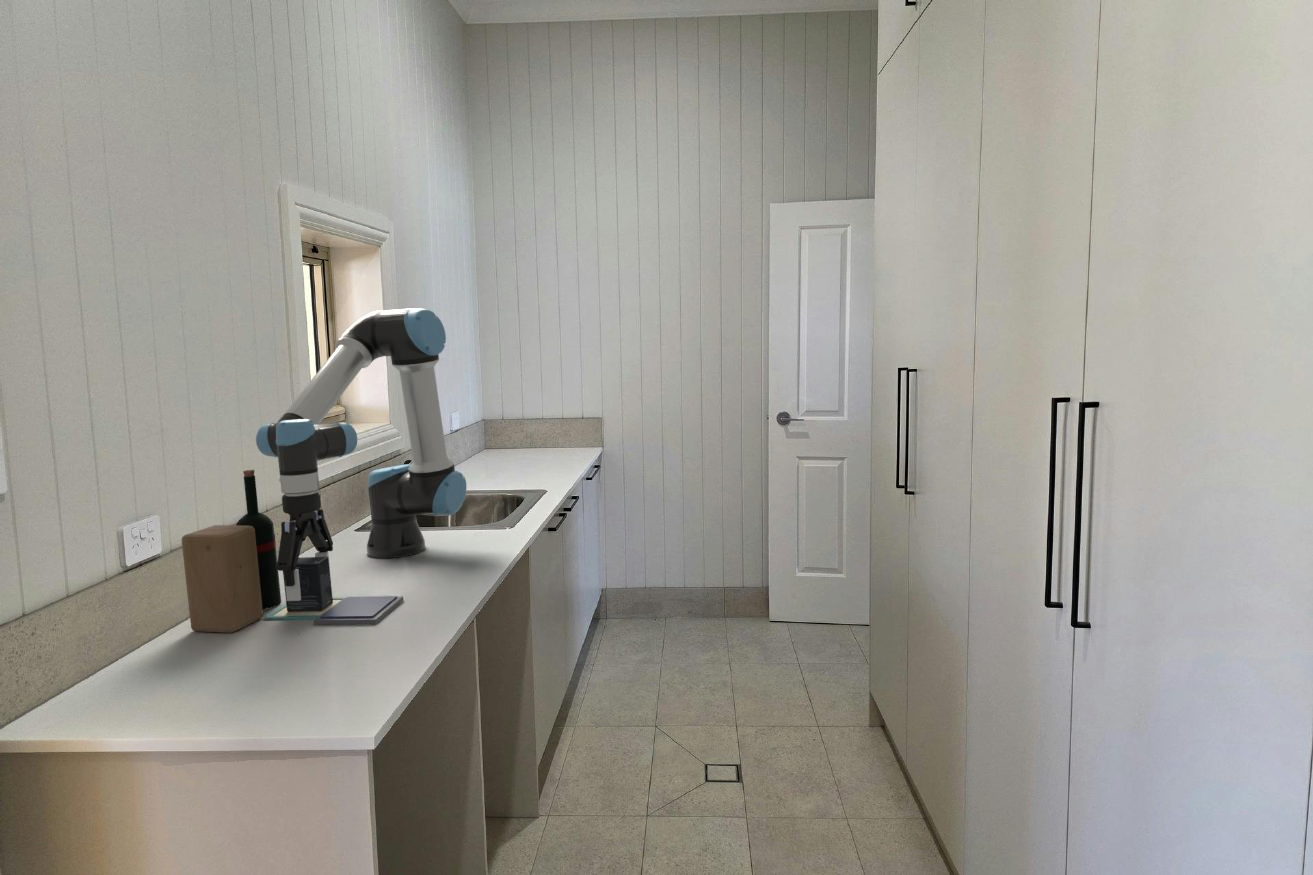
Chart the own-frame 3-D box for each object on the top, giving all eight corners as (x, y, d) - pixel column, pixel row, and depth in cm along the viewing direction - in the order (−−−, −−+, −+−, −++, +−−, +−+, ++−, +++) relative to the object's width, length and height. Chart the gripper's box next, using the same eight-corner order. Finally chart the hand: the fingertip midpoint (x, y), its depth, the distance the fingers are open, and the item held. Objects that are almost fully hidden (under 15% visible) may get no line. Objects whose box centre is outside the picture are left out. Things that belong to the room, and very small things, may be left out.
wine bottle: (292, 595, 194) (280, 465, 190) (271, 610, 184) (257, 473, 180) (258, 596, 194) (245, 466, 190) (235, 611, 184) (221, 474, 180)
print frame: (295, 600, 190) (294, 597, 190) (355, 599, 189) (355, 597, 189) (264, 619, 178) (263, 617, 178) (328, 618, 176) (328, 616, 176)
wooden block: (233, 634, 169) (222, 536, 167) (189, 632, 171) (178, 535, 169) (265, 617, 179) (256, 524, 176) (223, 616, 181) (214, 524, 178)
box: (333, 603, 186) (329, 555, 185) (322, 611, 181) (317, 562, 179) (298, 603, 187) (293, 556, 185) (286, 612, 181) (281, 563, 180)
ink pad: (346, 601, 188) (345, 595, 188) (403, 600, 187) (403, 594, 187) (313, 624, 173) (313, 618, 173) (376, 624, 172) (375, 617, 172)
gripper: (311, 482, 193) (319, 574, 195) (251, 505, 168) (261, 609, 171) (343, 481, 192) (351, 573, 195) (288, 504, 168) (297, 608, 170)
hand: (309, 590), depth 183 cm, fingers open, 13 cm apart
